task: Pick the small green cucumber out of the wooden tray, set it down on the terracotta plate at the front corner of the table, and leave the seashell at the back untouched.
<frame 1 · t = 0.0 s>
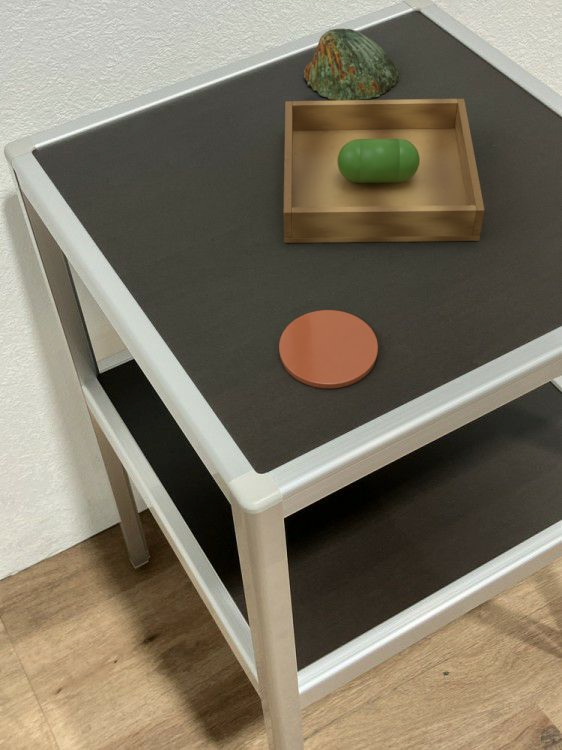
plate: (328, 350, 78), on the table
cucumber: (377, 178, 91), point 1 cm above the table, touching wooden tray
seashell: (349, 76, 103), on the table
wooden tray: (376, 183, 92), on the table
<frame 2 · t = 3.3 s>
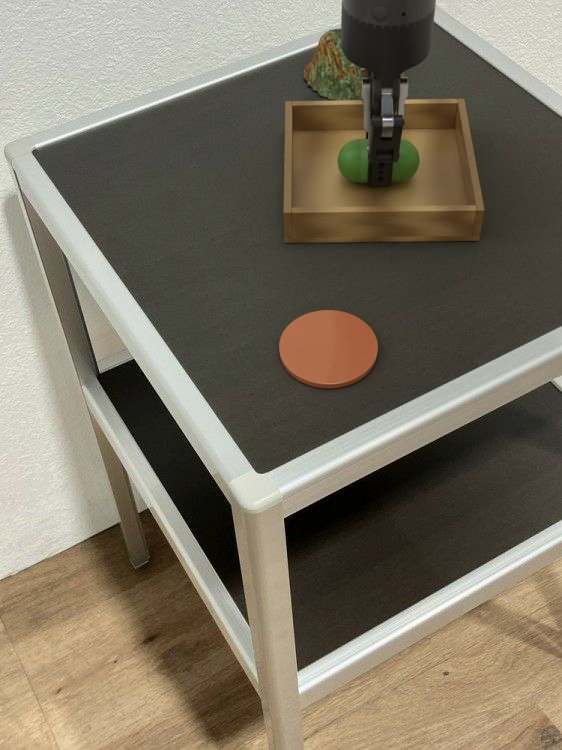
hand: (377, 168, 90), 2 cm above the table, tool pointing down, fingers closed on cucumber, 4 cm apart
cucumber: (377, 178, 91), point 1 cm above the table, touching wooden tray, gripper
everything else where it was.
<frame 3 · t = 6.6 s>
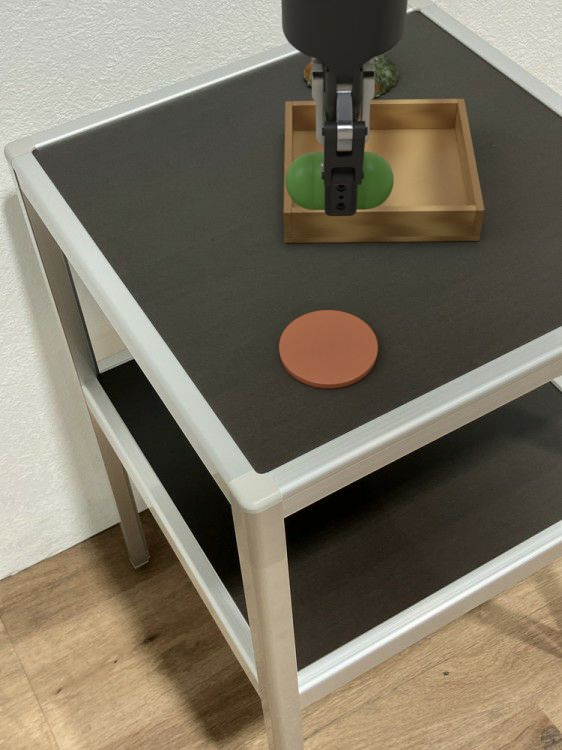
hand: (339, 190, 69), 15 cm above the table, tool pointing down, fingers closed on cucumber, 4 cm apart
cucumber: (338, 202, 70), point 13 cm above the table, touching gripper
everything else where it was.
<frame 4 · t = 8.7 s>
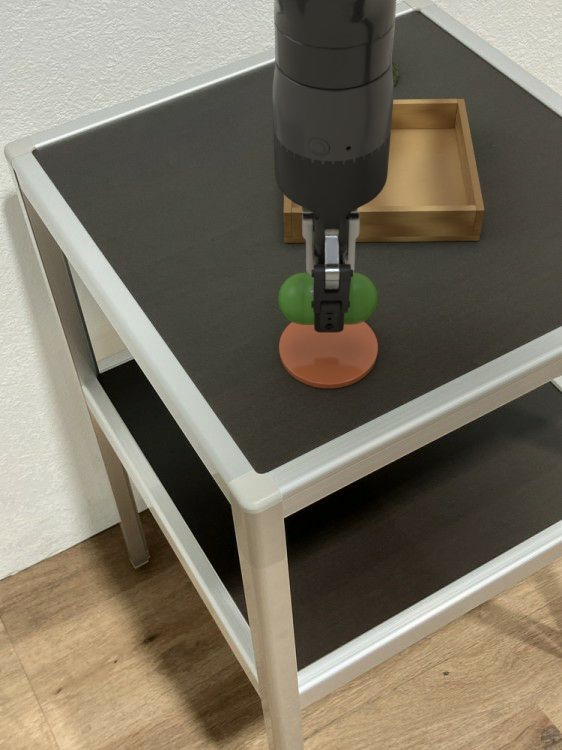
hand: (328, 305, 74), 5 cm above the table, tool pointing down, fingers closed on cucumber, 4 cm apart
cucumber: (327, 316, 75), point 4 cm above the table, touching gripper
everything else where it was.
when the fingers open (2 cm above the table, at t = 10.0 s): cucumber stays where it is, resting on plate.
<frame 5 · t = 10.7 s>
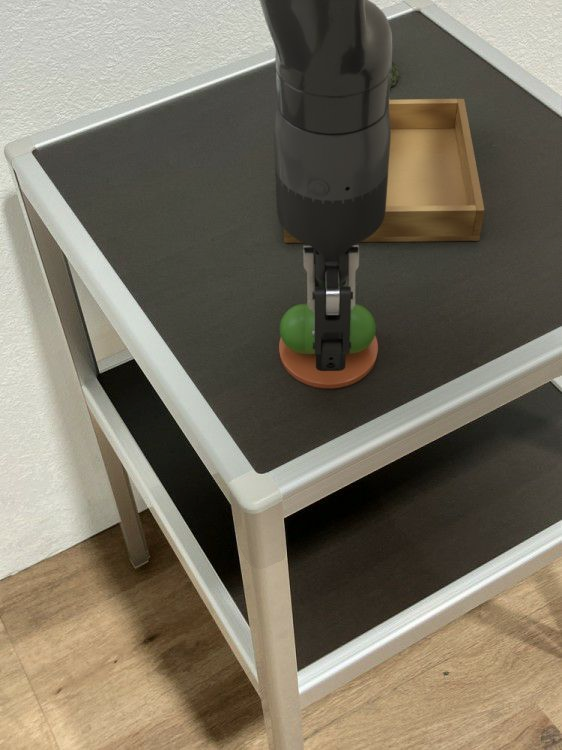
hand: (329, 326, 76), 3 cm above the table, tool pointing down, fingers open, 8 cm apart
cucumber: (327, 345, 78), point 1 cm above the table, touching plate
everything else where it was.
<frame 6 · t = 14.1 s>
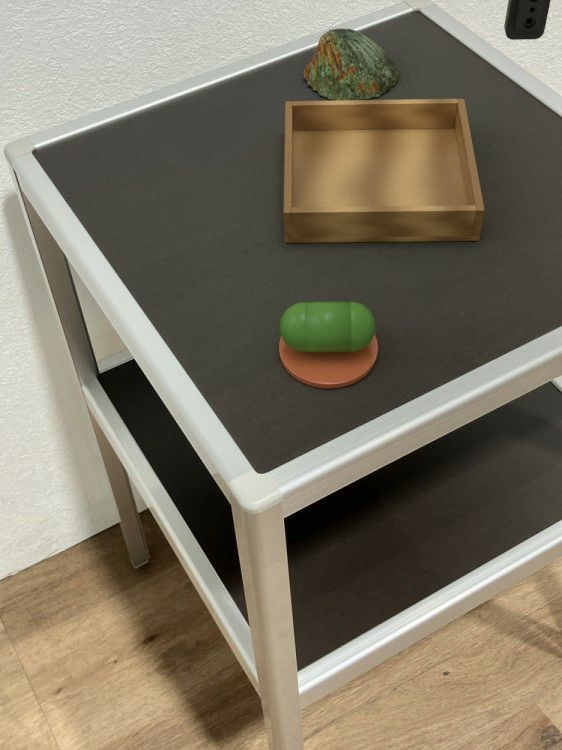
cucumber: (327, 345, 78), point 1 cm above the table, tilted 7°, touching plate
everything else where it was.
at the end: cucumber 0.1 cm from the plate (horizontally); cucumber moved 21.6 cm from its start; seashell moved 0.2 cm from its start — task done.
